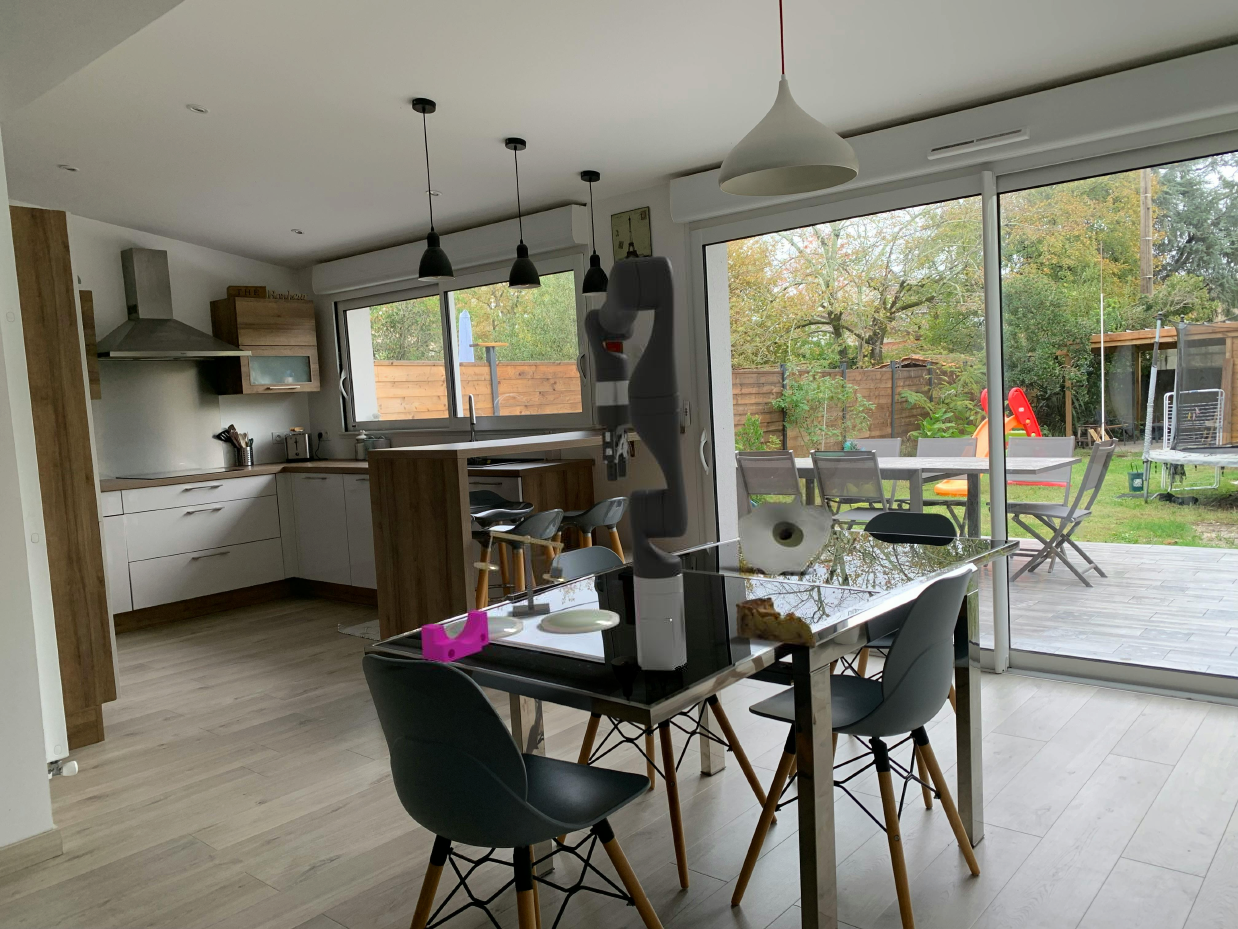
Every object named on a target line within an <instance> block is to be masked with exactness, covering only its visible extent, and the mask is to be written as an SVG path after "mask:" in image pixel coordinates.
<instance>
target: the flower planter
mask: <svg viewBox="0 0 1238 929" xmlns="http://www.w3.org/2000/svg"><path fill="white" fill-rule="evenodd" d="M803 495H804V494H803V492H802V491H797V493H795V495H794V497H793V499H792V500H791V501H790V502H781V501H773V502H771V501H762V502H760V503H758V504H757V505H755V506H754V507H753V508H752V510H751V512H750V513H749V514H747V515H744V516H742V517H741V518H739V520H738V521H737V526H738V527H737V528H738V532H739V534H738V537H739V544H740V549H741V555H742V557H743V560H744V561H745V563H747V564H748V566H750V567H751V568H756V569H760V570H762V571H763V572H764V573H765V575H771V576H779V575H780V574H781V573H785V572H789V571H802V570H804V569H805V568H806V567H807V566H808V563H809V561H811V559H813V557H814V556H816V555H817V554H818V553H819V552H820V550H821V549H822V548H823V547H824V545H825V544H826V543H827V541H828V538H829V537H830V535H831V534H832V531H831V530H832V525H833V524H834V521H833V520H834V519H833V513H832V512H831V511H829V510H827V509H826V508H824V507H822V506H821V505H819V504H818V505H817V504H809V505H808V504H807V505H805V504H801V500H802V499H803Z"/></svg>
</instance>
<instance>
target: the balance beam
mask: <svg viewBox="0 0 1238 929" xmlns="http://www.w3.org/2000/svg"><path fill="white" fill-rule="evenodd" d="M489 536H491V537H490V540H489V546H488V550H487V556H486V562H474V563H473V566H474V568H477V569H480V570H485V571H499V568H500V567H499V566H498V565H496V564H493V563H488V562H489V558H490V552H491V548H492V542H493V537H498V538H502V539H508V540H509V539H510V540H515V541H521V542H523V543H524V544H530V543H532V544H536V545H537V544H538V545H543V546H550V547H555V548H559V551H558V556H557V562H556V566H554V565H551V566H550V571H549V573H544V574H543V575H542V578H543V579H545V580H546V581H549V582H550V581H551V582H556V583H567V582H568V578H567V577H565V576H563V571H564V569H563V567H561V566H559V564H560V560H561V553H562V549H563V548H564V543H561V542H555V541H549V540H545V539H544V540H543V539H537V538H532V537H531V536H530V535H524V536H521V535H515V534H509V533H505V532H504V533H503V532H497V531H493V530H491V531H490V532H489Z"/></svg>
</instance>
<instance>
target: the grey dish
mask: <svg viewBox="0 0 1238 929" xmlns="http://www.w3.org/2000/svg"><path fill="white" fill-rule="evenodd" d="M487 618H488V634H489V641H494V640H500V639H501V640H502V639H504V638H509V637H512V636H515V635H517V634H519V633H521V632H522V631H523V630H524V622H523V621H522V619H519V618H518V617H517V618H516V617H513V616H512V617H511V616H503V615H502V616H501V615H500V616H498V615H496V616H492V615H491V616H490V615H489V616H487ZM466 621H467V618H466V619H461V620H458V621H454V622H452V623H450V624H448V625H446V626H444V629H445V632H446V634H447V636H448V637H449V638H450V639H453V638H455V637H457V636H458V635H459V634H460V633H461V631H462V630H463V628H464V626H465V624H466Z"/></svg>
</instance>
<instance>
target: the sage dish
mask: <svg viewBox="0 0 1238 929" xmlns="http://www.w3.org/2000/svg"><path fill="white" fill-rule="evenodd" d="M619 623H620V615H619V614H618V613H616V612H614V611H610V610H606V609H598V608H597V609H595V608H591V609H590V608H584V609H571V610H570V609H569V610H564V611H559V612H556V613H554V612H553V613H552V614H551V613H550V614H547V615H546V616H544V617H543V618H542V619H541V620H540V628H541V629H542V630H544V631H547V632H550V633H555V634H556V633H557V634H582V633H583V634H585V633H593V632H598V631H599V632H600V631H603V630H608V629H611V628H614V627H615V626H617V625H618V624H619Z"/></svg>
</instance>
